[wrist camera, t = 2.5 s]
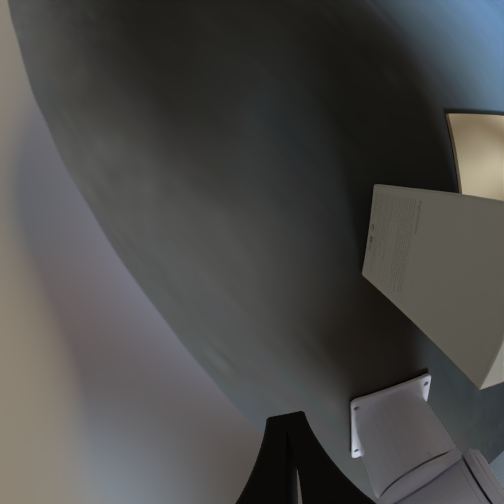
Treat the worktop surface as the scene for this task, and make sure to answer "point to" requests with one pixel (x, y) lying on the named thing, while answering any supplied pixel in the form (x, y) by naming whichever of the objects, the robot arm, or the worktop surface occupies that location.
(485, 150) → the board
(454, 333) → the small box
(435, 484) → the robot arm
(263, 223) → the worktop surface
